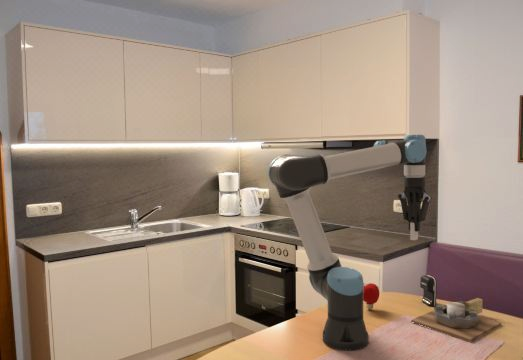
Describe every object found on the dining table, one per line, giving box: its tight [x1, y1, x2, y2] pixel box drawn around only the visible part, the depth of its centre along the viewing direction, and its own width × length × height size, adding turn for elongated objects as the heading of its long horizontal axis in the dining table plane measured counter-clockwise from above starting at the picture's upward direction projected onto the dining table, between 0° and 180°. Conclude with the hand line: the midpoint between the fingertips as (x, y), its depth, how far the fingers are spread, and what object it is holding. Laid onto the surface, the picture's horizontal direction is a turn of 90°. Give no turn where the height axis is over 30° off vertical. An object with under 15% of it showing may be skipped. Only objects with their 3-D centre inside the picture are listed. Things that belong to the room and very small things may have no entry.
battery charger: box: [419, 274, 438, 307], centre depth 184 cm, size 7×4×11 cm, turn 12°
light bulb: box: [363, 283, 380, 311], centre depth 178 cm, size 9×7×10 cm
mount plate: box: [410, 300, 502, 343], centre depth 163 cm, size 22×22×7 cm
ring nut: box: [433, 297, 484, 328], centre depth 165 cm, size 22×14×5 cm, turn 123°
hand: (414, 239), depth 169 cm, fingers closed
